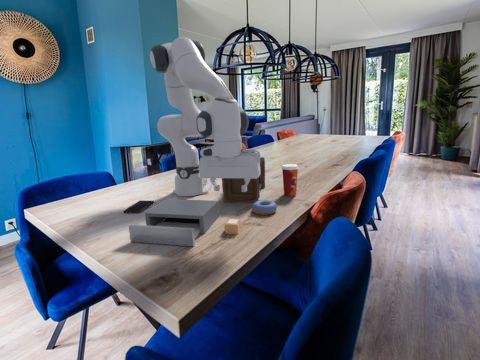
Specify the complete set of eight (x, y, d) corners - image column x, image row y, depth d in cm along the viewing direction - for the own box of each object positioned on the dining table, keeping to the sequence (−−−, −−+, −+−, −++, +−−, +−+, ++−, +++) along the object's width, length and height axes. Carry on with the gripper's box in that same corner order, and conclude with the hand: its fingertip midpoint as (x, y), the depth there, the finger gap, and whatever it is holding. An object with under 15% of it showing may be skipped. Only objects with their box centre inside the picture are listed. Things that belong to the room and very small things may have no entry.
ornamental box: (240, 187, 165) (234, 155, 161) (271, 183, 160) (266, 150, 157) (224, 206, 131) (216, 166, 128) (263, 202, 127) (256, 161, 123)
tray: (155, 223, 110) (153, 209, 109) (210, 226, 105) (209, 211, 104) (130, 242, 96) (128, 225, 94) (193, 246, 90) (191, 229, 89)
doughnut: (275, 216, 112) (274, 204, 111) (249, 216, 114) (248, 204, 114) (278, 209, 121) (278, 198, 121) (255, 209, 124) (254, 199, 123)
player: (168, 214, 120) (166, 198, 118) (219, 216, 115) (218, 200, 113) (147, 230, 105) (144, 213, 103) (204, 233, 100) (203, 215, 98)
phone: (155, 200, 136) (139, 212, 122) (155, 203, 136) (139, 214, 122) (139, 200, 137) (122, 211, 123) (139, 202, 138) (122, 214, 123)
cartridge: (228, 227, 104) (228, 218, 103) (241, 228, 103) (240, 218, 102) (225, 233, 99) (224, 223, 98) (238, 234, 98) (237, 224, 97)
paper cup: (297, 197, 134) (297, 167, 130) (280, 196, 136) (280, 166, 133) (299, 192, 141) (299, 163, 137) (283, 191, 143) (283, 163, 140)
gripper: (261, 147, 94) (263, 189, 98) (202, 148, 99) (205, 187, 103) (258, 150, 88) (259, 194, 92) (195, 151, 93) (198, 192, 97)
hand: (230, 190), depth 97 cm, fingers open, 8 cm apart
